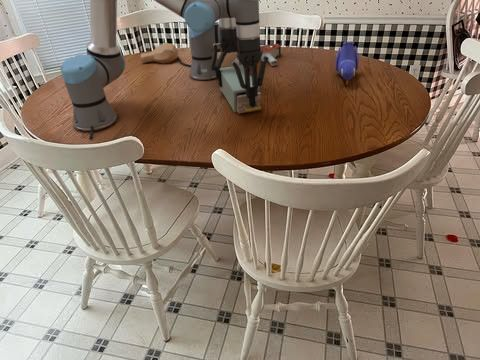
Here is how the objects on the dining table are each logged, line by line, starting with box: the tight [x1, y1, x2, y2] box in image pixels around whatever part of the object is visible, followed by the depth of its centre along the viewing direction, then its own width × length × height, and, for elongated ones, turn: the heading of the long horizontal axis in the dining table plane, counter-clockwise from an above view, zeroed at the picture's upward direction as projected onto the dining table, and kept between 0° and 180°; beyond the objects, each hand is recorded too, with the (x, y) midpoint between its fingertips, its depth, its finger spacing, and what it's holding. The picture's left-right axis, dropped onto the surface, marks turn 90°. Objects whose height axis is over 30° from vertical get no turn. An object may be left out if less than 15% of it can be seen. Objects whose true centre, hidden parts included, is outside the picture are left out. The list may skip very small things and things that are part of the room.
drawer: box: [236, 91, 263, 114], centre depth 136 cm, size 25×9×7 cm, turn 17°
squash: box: [140, 42, 179, 64], centre depth 186 cm, size 11×20×9 cm, turn 92°
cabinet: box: [219, 64, 261, 113], centre depth 140 cm, size 21×10×9 cm, turn 17°
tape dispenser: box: [260, 43, 282, 67], centre depth 181 cm, size 18×5×20 cm
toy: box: [334, 40, 360, 86], centre depth 151 cm, size 10×17×25 cm
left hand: (252, 105), depth 128 cm, fingers closed
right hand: (233, 84), depth 147 cm, fingers closed on cabinet, 10 cm apart
